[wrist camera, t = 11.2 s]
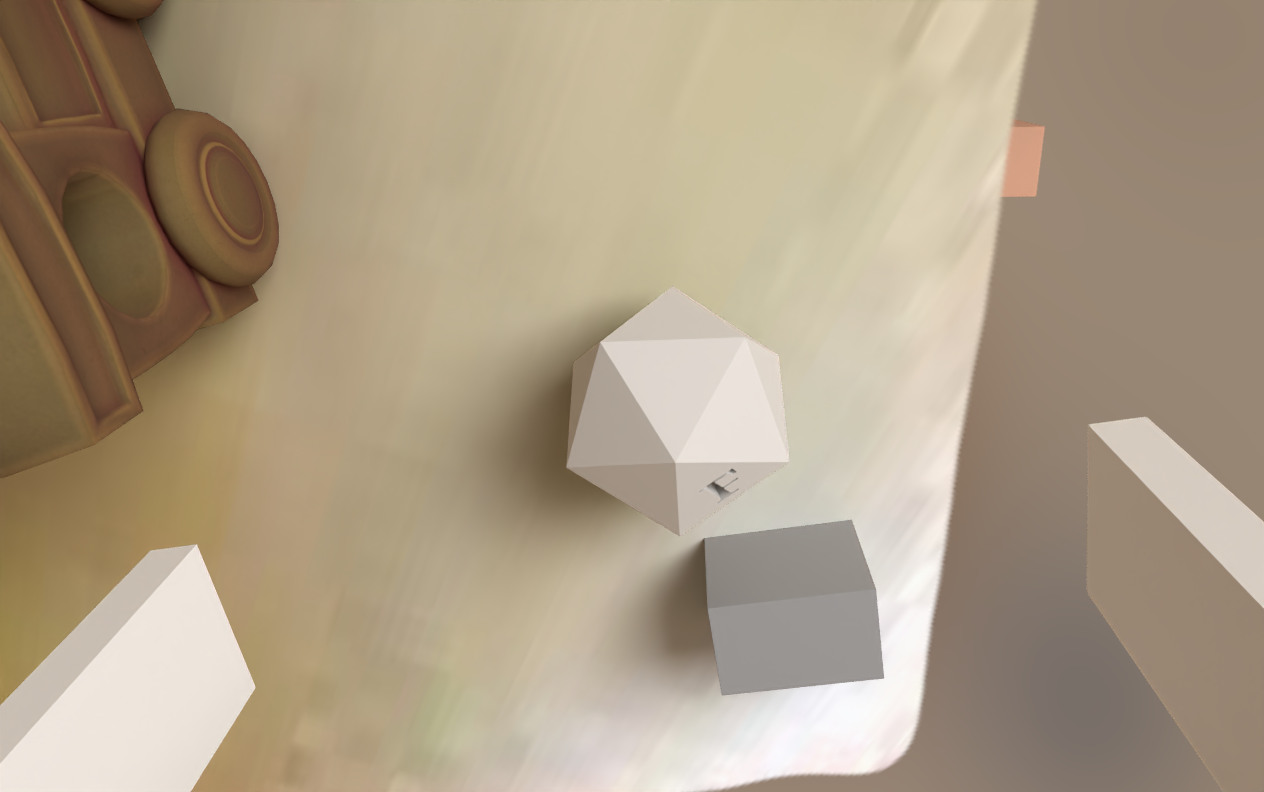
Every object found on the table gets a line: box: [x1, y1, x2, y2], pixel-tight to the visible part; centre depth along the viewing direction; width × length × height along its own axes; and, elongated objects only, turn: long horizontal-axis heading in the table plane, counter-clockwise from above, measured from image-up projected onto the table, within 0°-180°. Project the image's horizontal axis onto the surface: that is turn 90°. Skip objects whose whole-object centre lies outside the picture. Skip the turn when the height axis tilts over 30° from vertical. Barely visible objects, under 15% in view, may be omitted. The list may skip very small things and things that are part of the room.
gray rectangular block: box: [704, 520, 884, 695], centre depth 43 cm, size 4×7×6 cm, turn 100°
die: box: [566, 286, 790, 536], centre depth 37 cm, size 8×9×10 cm
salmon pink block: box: [1001, 119, 1045, 197], centre depth 65 cm, size 7×4×6 cm, turn 92°
